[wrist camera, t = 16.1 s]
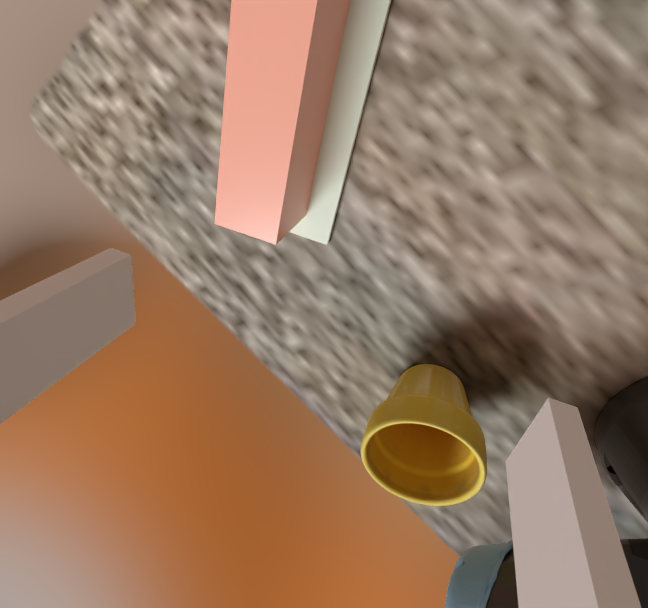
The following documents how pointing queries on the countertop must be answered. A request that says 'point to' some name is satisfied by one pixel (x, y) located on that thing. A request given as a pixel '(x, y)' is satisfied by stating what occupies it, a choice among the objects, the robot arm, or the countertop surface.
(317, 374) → the countertop surface
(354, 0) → the pale green flat board
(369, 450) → the plant pot
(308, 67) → the long pink block
